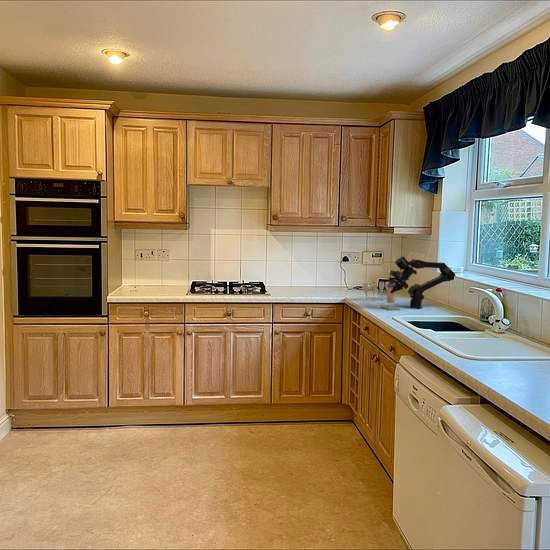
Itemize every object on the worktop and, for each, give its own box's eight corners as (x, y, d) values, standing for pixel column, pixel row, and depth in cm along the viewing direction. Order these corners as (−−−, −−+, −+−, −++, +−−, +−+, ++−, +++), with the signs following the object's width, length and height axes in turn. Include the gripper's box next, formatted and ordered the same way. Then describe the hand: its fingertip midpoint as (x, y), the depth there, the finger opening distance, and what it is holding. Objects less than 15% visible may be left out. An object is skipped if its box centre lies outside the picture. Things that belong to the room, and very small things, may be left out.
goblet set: (396, 299, 373) (397, 281, 371) (400, 300, 367) (401, 282, 366) (360, 300, 365) (361, 281, 363) (364, 302, 359) (364, 282, 358)
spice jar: (395, 302, 334) (396, 283, 333) (393, 303, 330) (393, 284, 329) (388, 301, 337) (389, 283, 335) (385, 302, 333) (386, 283, 331)
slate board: (391, 306, 340) (392, 305, 340) (400, 310, 329) (400, 308, 329) (380, 307, 339) (380, 306, 338) (388, 310, 327) (388, 309, 327)
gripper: (391, 264, 341) (374, 281, 339) (404, 267, 322) (387, 285, 321) (401, 276, 343) (385, 293, 342) (415, 279, 325) (398, 297, 324)
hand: (389, 292), depth 332 cm, fingers closed on spice jar, 5 cm apart
